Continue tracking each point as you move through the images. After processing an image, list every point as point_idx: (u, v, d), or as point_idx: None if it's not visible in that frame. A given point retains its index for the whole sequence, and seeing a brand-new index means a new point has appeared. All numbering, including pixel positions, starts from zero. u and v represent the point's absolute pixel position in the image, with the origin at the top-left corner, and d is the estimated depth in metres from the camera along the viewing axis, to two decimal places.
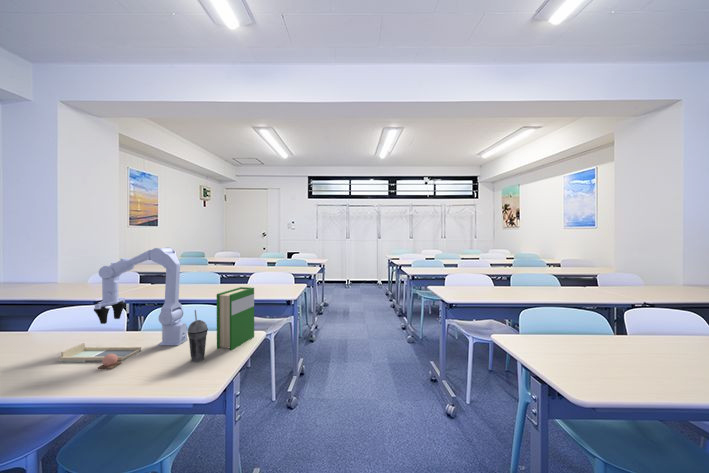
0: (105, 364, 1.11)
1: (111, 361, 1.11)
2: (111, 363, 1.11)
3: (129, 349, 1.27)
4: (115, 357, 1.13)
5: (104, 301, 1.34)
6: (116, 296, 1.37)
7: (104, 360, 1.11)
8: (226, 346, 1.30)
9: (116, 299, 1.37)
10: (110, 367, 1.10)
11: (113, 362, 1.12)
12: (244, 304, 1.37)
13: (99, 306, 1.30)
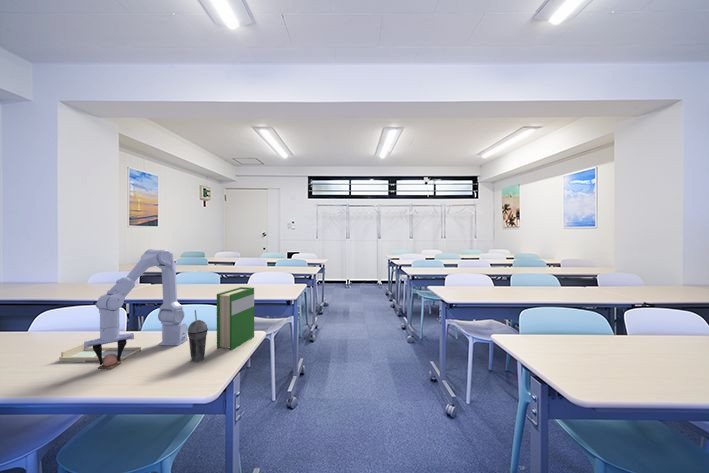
0: (105, 364, 1.11)
1: (111, 361, 1.11)
2: (111, 363, 1.11)
3: (129, 349, 1.27)
4: (115, 357, 1.13)
5: (100, 338, 1.11)
6: (110, 334, 1.10)
7: (104, 360, 1.11)
8: (226, 346, 1.30)
9: (110, 337, 1.10)
10: (110, 367, 1.10)
11: (113, 362, 1.12)
12: (244, 304, 1.37)
13: (85, 345, 1.07)
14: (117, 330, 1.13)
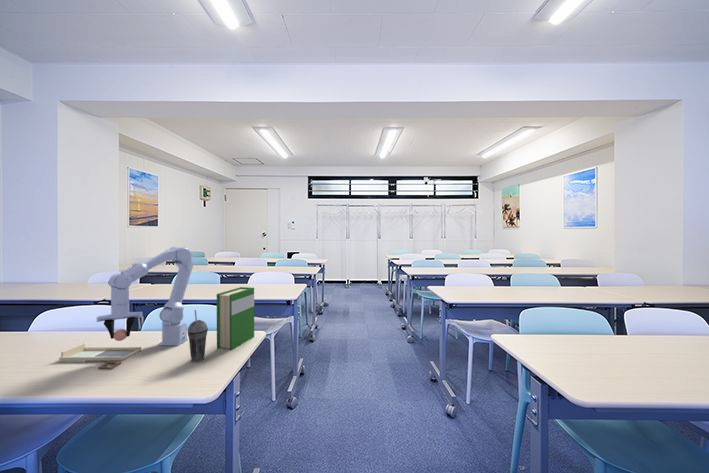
0: (115, 339, 1.19)
1: (119, 336, 1.19)
2: (120, 338, 1.19)
3: (129, 349, 1.27)
4: (124, 333, 1.21)
5: None
6: (118, 310, 1.18)
7: (114, 334, 1.19)
8: (226, 346, 1.30)
9: (118, 314, 1.18)
10: (110, 367, 1.10)
11: (122, 337, 1.20)
12: (244, 304, 1.37)
13: (97, 319, 1.17)
14: (125, 307, 1.20)
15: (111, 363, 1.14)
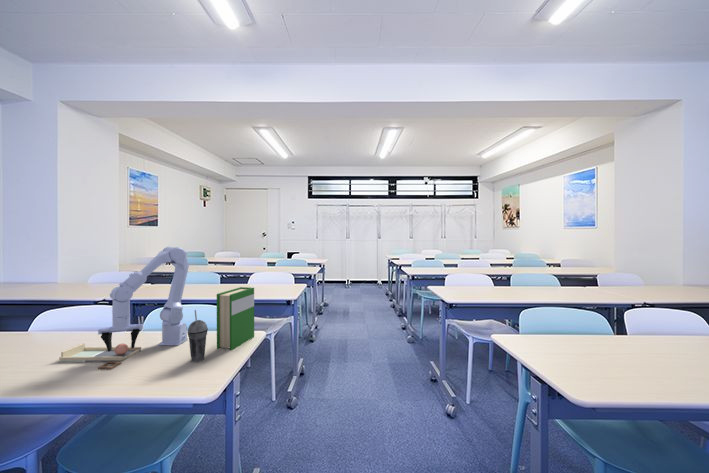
0: (116, 353, 1.20)
1: (120, 351, 1.20)
2: (121, 352, 1.20)
3: (129, 349, 1.27)
4: (125, 347, 1.22)
5: None
6: (119, 323, 1.19)
7: (115, 349, 1.20)
8: (226, 346, 1.30)
9: (119, 326, 1.19)
10: (110, 367, 1.10)
11: (122, 351, 1.21)
12: (244, 304, 1.37)
13: (99, 331, 1.18)
14: (126, 320, 1.21)
15: (111, 363, 1.14)
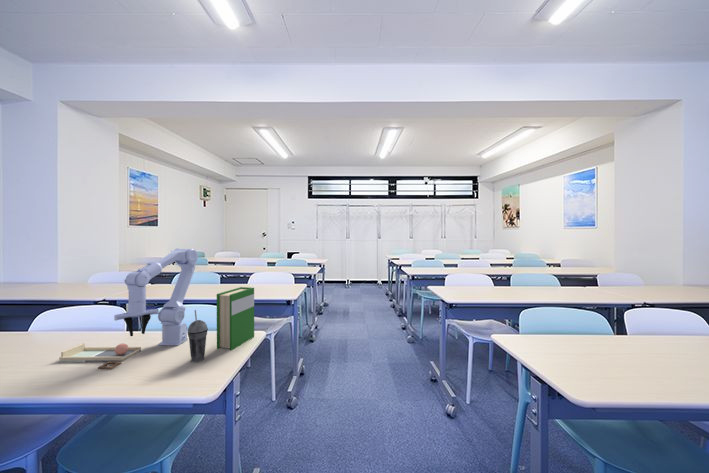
0: (116, 353, 1.20)
1: (120, 351, 1.20)
2: (121, 352, 1.20)
3: (129, 349, 1.27)
4: (125, 347, 1.22)
5: (128, 312, 1.20)
6: (138, 308, 1.20)
7: (115, 349, 1.20)
8: (226, 346, 1.30)
9: (138, 311, 1.20)
10: (110, 367, 1.10)
11: (122, 351, 1.21)
12: (244, 304, 1.37)
13: (115, 317, 1.17)
14: (144, 305, 1.22)
15: (111, 363, 1.14)
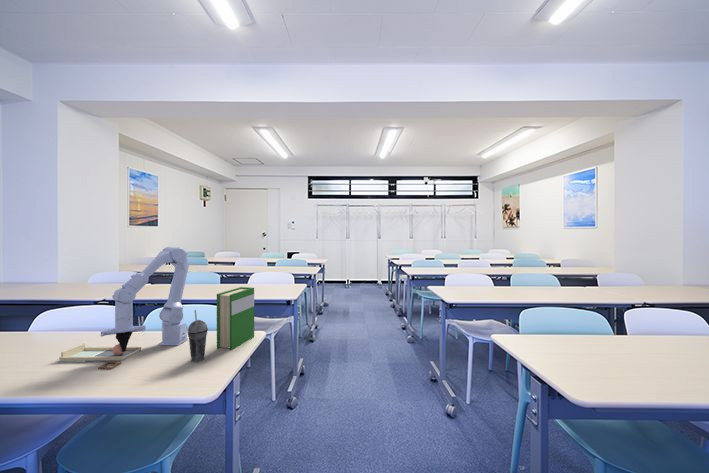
0: (115, 353, 1.20)
1: (118, 349, 1.20)
2: (119, 351, 1.20)
3: (129, 349, 1.27)
4: None
5: None
6: (122, 324, 1.19)
7: (113, 350, 1.20)
8: (226, 346, 1.30)
9: (122, 328, 1.19)
10: (110, 367, 1.10)
11: (120, 350, 1.21)
12: (244, 304, 1.37)
13: (101, 333, 1.18)
14: (129, 322, 1.21)
15: (111, 363, 1.14)
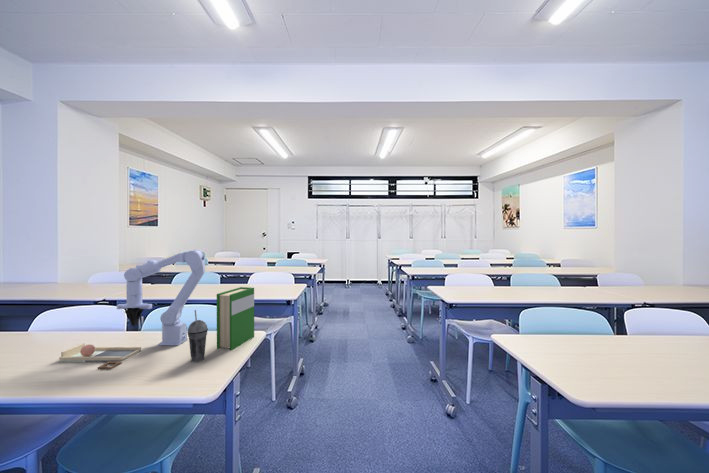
0: (83, 347, 1.20)
1: (89, 347, 1.20)
2: (87, 349, 1.19)
3: (129, 349, 1.27)
4: (93, 350, 1.21)
5: None
6: (129, 301, 1.31)
7: None
8: (226, 346, 1.30)
9: (129, 304, 1.31)
10: (110, 367, 1.10)
11: (88, 350, 1.19)
12: (244, 304, 1.37)
13: (117, 306, 1.33)
14: (136, 299, 1.32)
15: (111, 363, 1.14)
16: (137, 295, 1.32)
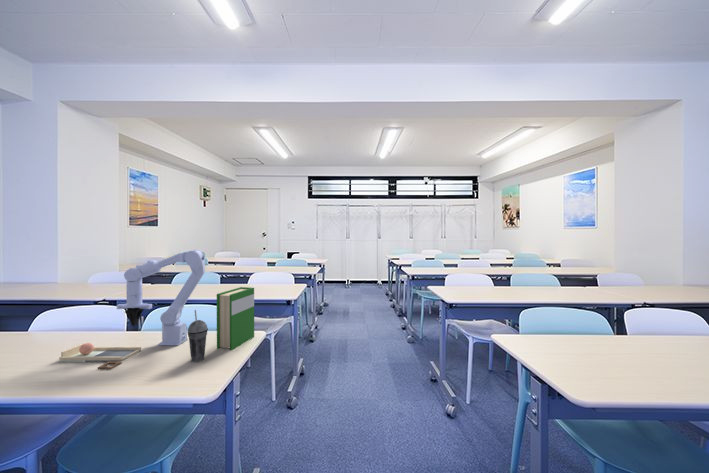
0: None
1: (86, 343, 1.23)
2: (85, 343, 1.23)
3: (129, 349, 1.27)
4: (91, 344, 1.24)
5: None
6: (129, 301, 1.31)
7: None
8: (226, 346, 1.30)
9: (129, 304, 1.31)
10: (110, 367, 1.10)
11: (86, 343, 1.23)
12: (244, 304, 1.37)
13: (117, 306, 1.33)
14: (136, 299, 1.32)
15: (111, 363, 1.14)
16: (137, 295, 1.32)
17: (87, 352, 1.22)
